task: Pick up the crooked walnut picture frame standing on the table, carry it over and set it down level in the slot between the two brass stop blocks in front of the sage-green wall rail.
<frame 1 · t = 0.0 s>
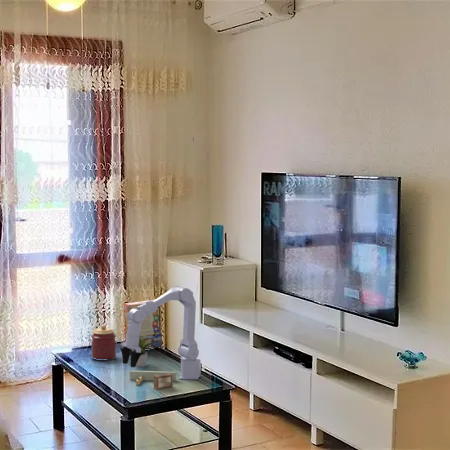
hand: (129, 365, 327), 11 cm above the table, tool pointing down, fingers open, 7 cm apart
frame: (163, 387, 329), on the table
house plant: (139, 366, 366), on the table
ledge: (153, 379, 341), on the table
canister: (103, 358, 382), on the table
board game box: (143, 350, 399), on the table
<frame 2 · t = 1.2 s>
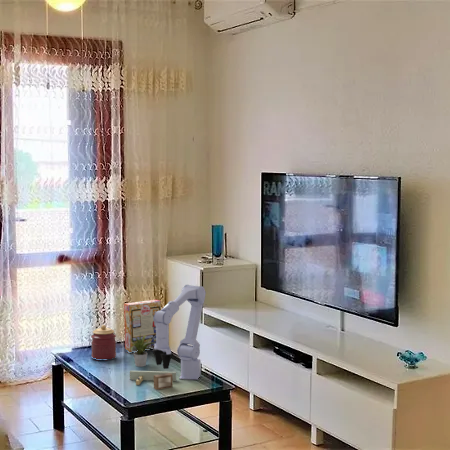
hand: (162, 366, 329), 9 cm above the table, tool pointing down, fingers open, 7 cm apart
nothing on the table moved.
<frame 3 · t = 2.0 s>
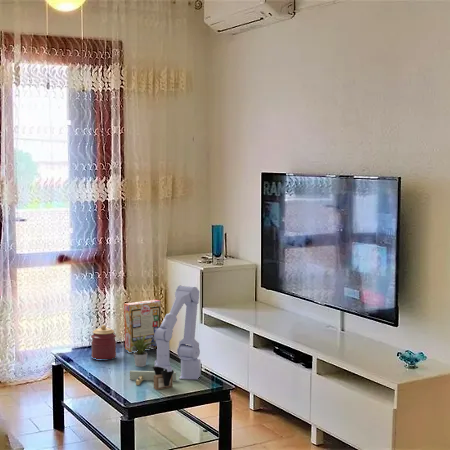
hand: (163, 383, 329), 2 cm above the table, tool pointing down, fingers open, 7 cm apart
nothing on the table moved.
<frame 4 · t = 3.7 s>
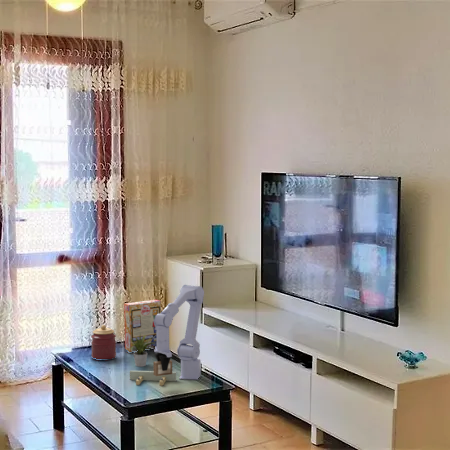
hand: (163, 369, 328), 8 cm above the table, tool pointing down, fingers closed on frame, 3 cm apart
frame: (162, 374, 328), point 6 cm above the table, touching gripper
everything else where it was.
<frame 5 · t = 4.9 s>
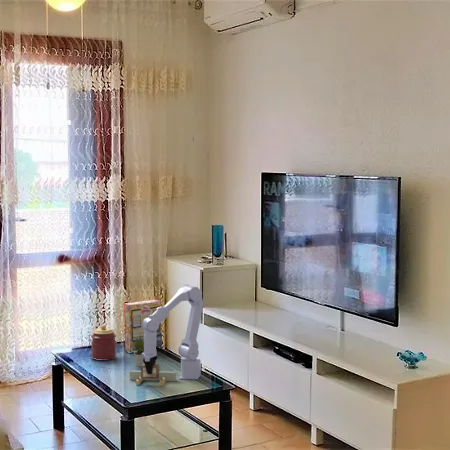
hand: (150, 372, 334), 5 cm above the table, tool pointing down, fingers closed on frame, 3 cm apart
frame: (150, 377, 335), point 3 cm above the table, touching gripper
everything else where it was.
when the fingers open (3 cm above the table, at t = 5.6 s): frame stays where it is, on the table.
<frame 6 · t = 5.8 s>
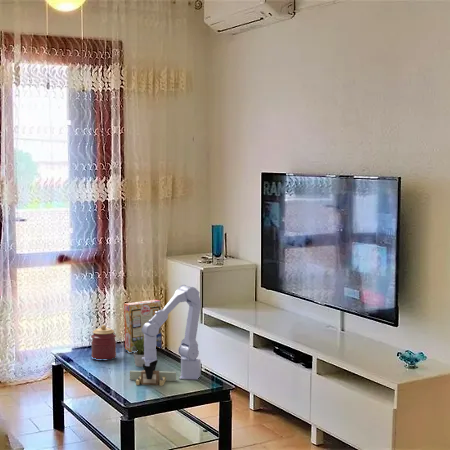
hand: (150, 377, 335), 3 cm above the table, tool pointing down, fingers open, 4 cm apart
frame: (150, 383, 335), on the table
everything else where it was.
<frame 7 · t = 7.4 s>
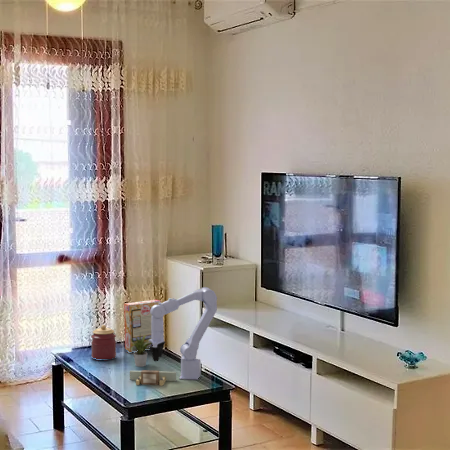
hand: (157, 358, 341), 10 cm above the table, tool pointing down, fingers open, 7 cm apart
nothing on the table moved.
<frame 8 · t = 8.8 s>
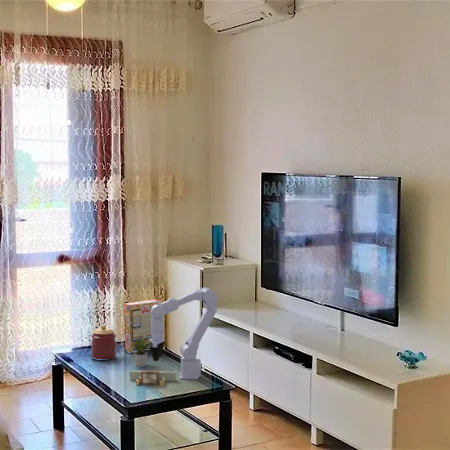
hand: (157, 358, 341), 10 cm above the table, tool pointing down, fingers open, 7 cm apart
nothing on the table moved.
at the end: frame 0.1 cm from the target spot on the ledge, point 0.0 cm above the ledge's base; frame tilted 0°; the gripper is holding nothing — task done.
